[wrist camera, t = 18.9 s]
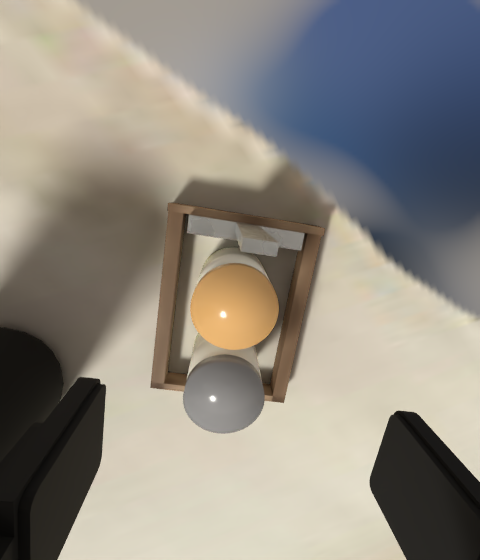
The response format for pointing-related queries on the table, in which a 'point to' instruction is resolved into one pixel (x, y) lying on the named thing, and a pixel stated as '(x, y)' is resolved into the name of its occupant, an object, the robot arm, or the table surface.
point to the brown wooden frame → (293, 307)
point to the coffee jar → (25, 385)
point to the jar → (234, 300)
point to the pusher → (247, 235)
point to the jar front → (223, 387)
